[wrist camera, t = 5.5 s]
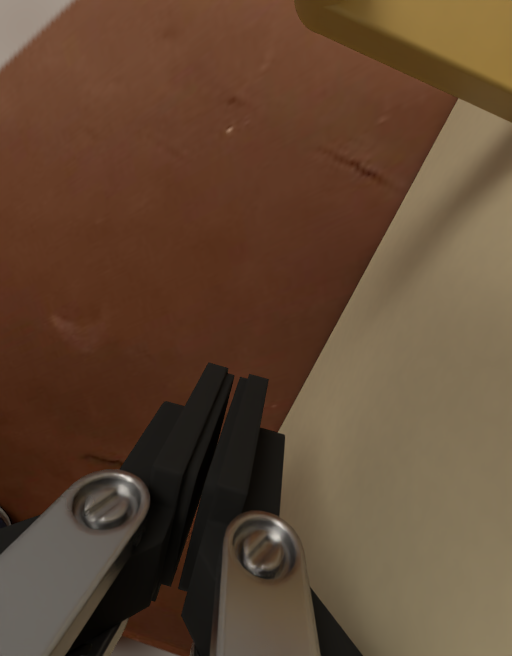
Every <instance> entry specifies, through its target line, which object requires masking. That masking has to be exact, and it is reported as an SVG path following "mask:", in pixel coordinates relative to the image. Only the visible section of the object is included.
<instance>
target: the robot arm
mask: <svg viewBox="0 0 512 656" xmlns="http://www.w3.org/2000/svg"><path fill="white" fill-rule="evenodd" d="M233 380H234V375H232V374H228V368H226V367H223V366H219V365H215V364H212V363H208V365H207V366H206V368H205V370H204V372H203V374H202V376H201V377H200V379H199V381H198V383H197V385H196V387H195V388H194V390H193V392H192V394H191V396H190V398H189V399H188V401H187V403H186V405H185V406H182V405H178V404H174V403H171V402H167V401H165V402H164V403H163V404H162V405H161V407H160V408H159V410H158V411H157V413H156V414H155V416H154V418H153V419H152V421H151V422H150V424H149V425H148V427H147V428H146V430H145V431H144V433H143V434H142V436H141V437H140V439H139V440H138V442H137V444H136V445H135V447H134V448H133V450H132V451H131V453H130V454H129V456H128V457H127V459H126V460H125V462H124V463H123V465H122V466H121V468H120V470H113V469H107V470H101V471H96V472H93V473H91V474H88V475H86V476H84V477H82V478H81V479H79V480H78V481H77V482H75V483H74V484H73V485H71V486H70V487H69V488H68V489H67V490H66V491H65V492H64V493H63V494H62V495H61V496H60V497H59V498H58V499H57V500H56V501H55V502H54V503H53V504H52V505H51V506H50V507H49V508H48V509H47V510H46V511H45V512H44V513H43V514H42V515H39V516H36V517H33V518H30V519H27V520H24V521H21V522H18V523H15V524H12V525H9V526H6V527H3V528H0V656H110V655H111V653H112V651H113V649H114V647H115V646H116V644H117V642H118V640H119V639H120V637H121V635H122V633H123V631H124V630H125V627H126V625H127V622H128V620H129V617H131V616H133V615H134V614H136V613H138V612H140V611H141V610H143V609H145V608H147V607H148V606H149V605H150V603H151V601H155V600H156V598H157V595H158V592H159V589H160V586H161V584H163V585H167V586H171V584H172V581H173V578H174V575H175V573H176V570H177V567H178V564H179V561H180V558H181V555H182V552H183V549H184V546H185V543H186V540H187V537H188V534H189V531H190V528H191V525H192V522H193V519H194V516H195V513H196V510H197V507H198V504H199V507H198V511H197V515H196V519H195V523H194V527H193V531H192V535H191V539H190V543H189V547H188V551H187V555H186V559H185V563H184V567H183V571H182V575H181V579H180V583H179V587H178V589H180V590H184V591H187V596H186V599H185V603H184V607H183V611H182V614H181V616H182V618H183V620H184V622H185V624H186V627H187V629H188V631H189V633H190V635H191V637H192V639H193V643H192V647H191V652H190V656H363V655H362V654H361V652H360V651H359V650H358V648H357V647H356V646H355V644H354V643H353V642H352V641H351V639H350V638H349V637H348V635H347V634H346V633H345V631H344V630H343V629H342V627H341V626H340V625H339V624H338V622H337V621H336V620H335V618H334V617H333V616H332V614H331V613H330V612H329V611H328V609H327V608H326V607H325V605H324V604H323V603H322V601H321V600H320V599H319V597H318V596H317V595H316V594H315V592H314V591H313V590H312V588H311V587H310V583H309V577H308V570H307V564H306V557H305V551H304V548H303V545H302V542H301V539H300V538H299V536H298V534H297V533H296V531H295V530H294V528H292V527H291V526H290V525H289V524H288V523H287V522H286V521H285V520H284V519H282V518H280V517H279V516H280V502H281V489H282V476H283V462H284V449H285V435H284V434H281V433H277V432H274V431H270V430H267V429H263V428H260V424H261V418H262V413H263V407H264V402H265V396H266V391H267V386H268V380H269V379H266V378H262V377H259V376H255V375H251V374H249V377H248V379H246V378H242V377H240V379H239V382H238V385H237V388H236V391H235V394H234V397H233V400H232V403H231V406H230V409H229V412H228V415H227V418H226V420H225V423H224V426H223V429H222V432H221V435H220V431H221V427H222V423H223V419H224V415H225V411H226V407H227V403H228V399H229V395H230V392H231V388H232V384H233ZM219 435H220V438H219ZM218 439H219V441H218ZM217 443H218V444H217ZM200 498H201V499H200ZM199 501H200V503H199Z"/></svg>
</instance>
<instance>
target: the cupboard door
mask: <svg viewBox="0 0 512 656" xmlns="http://www.w3.org/2000/svg"><path fill="white" fill-rule="evenodd" d="M294 3H295V8H296V11H297V14H298V16H299V18H300V20H301V21H302V23H303V24H304V25H305V26H306V27H307V28H308V29H310V30H311V31H313V32H315V33H318V34H321V35H323V36H325V37H327V38H329V39H331V40H334V41H336V42H338V43H340V44H342V45H344V46H347V47H349V48H351V49H353V50H355V51H357V52H360V53H362V54H364V55H366V56H368V57H370V58H373V59H375V60H377V61H379V62H381V63H383V64H386V65H388V66H390V67H392V68H394V69H396V70H399V71H401V72H403V73H405V74H407V75H409V76H412V77H414V78H416V79H418V80H420V81H422V82H425V83H427V84H429V85H431V86H433V87H435V88H438V89H440V90H442V91H444V92H446V93H448V94H451V95H453V96H455V97H457V98H458V100H457V102H456V104H455V106H454V108H453V109H452V111H451V113H450V115H449V117H448V119H447V121H446V122H445V124H444V126H443V128H442V130H441V132H440V134H439V135H438V137H437V139H436V141H435V143H434V145H433V146H432V148H431V150H430V152H429V154H428V156H427V158H426V159H425V161H424V163H423V165H422V167H421V169H420V171H419V172H418V174H417V176H416V178H415V180H414V182H413V183H412V185H411V187H410V189H409V191H408V193H407V195H406V196H405V198H404V200H403V202H402V204H401V206H400V208H399V209H398V211H397V213H396V215H395V217H394V219H393V220H392V222H391V224H390V226H389V228H388V230H387V232H386V233H385V235H384V237H383V239H382V241H381V243H380V245H379V246H378V248H377V250H376V252H375V254H374V256H373V257H372V259H371V261H370V263H369V265H368V267H367V269H366V270H365V272H364V274H363V276H362V278H361V280H360V282H359V283H358V285H357V287H356V289H355V291H354V293H353V295H352V296H351V298H350V300H349V302H348V304H347V306H346V307H345V309H344V311H343V313H342V315H341V317H340V319H339V320H338V322H337V324H336V326H335V328H334V330H333V332H332V333H331V335H330V337H329V339H328V341H327V343H326V344H325V346H324V348H323V350H322V352H321V354H320V356H319V357H318V359H317V361H316V363H315V365H314V367H313V369H312V370H311V372H310V374H309V376H308V378H307V380H306V381H305V383H304V385H303V387H302V389H301V391H300V393H299V394H298V396H297V398H296V400H295V402H294V404H293V406H292V407H291V409H290V411H289V413H288V415H287V417H286V418H285V420H284V422H283V424H282V426H281V428H280V430H279V431H278V433H281V434H284V435H285V449H284V462H283V476H282V489H281V502H280V516H279V517H280V518H282V519H284V520H285V521H286V522H287V523H288V524H289V525H290V526H291V527H292V528H294V530H295V531H296V533H297V534H298V536H299V538H300V539H301V542H302V545H303V548H304V551H305V557H306V564H307V570H308V577H309V583H310V587H311V588H312V590H313V591H314V592H315V594H316V595H317V596H318V597H319V599H320V600H321V601H322V603H323V604H324V605H325V607H326V608H327V609H328V611H329V612H330V613H331V614H332V616H333V617H334V618H335V620H336V621H337V622H338V624H339V625H340V626H341V627H342V629H343V630H344V631H345V633H346V634H347V635H348V637H349V638H350V639H351V641H352V642H353V643H354V644H355V646H356V647H357V648H358V650H359V651H360V652H361V654H362V655H363V656H512V0H294Z"/></svg>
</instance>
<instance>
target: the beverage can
mask: <svg viewBox="0 0 512 656" xmlns="http://www.w3.org/2000/svg"><path fill="white" fill-rule="evenodd" d="M9 525H11V522H10V519H9V517H8V516H7V514H6V513H5V511H4V510H3V509H2V508H1V507H0V528H3V527H6V526H9Z"/></svg>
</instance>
